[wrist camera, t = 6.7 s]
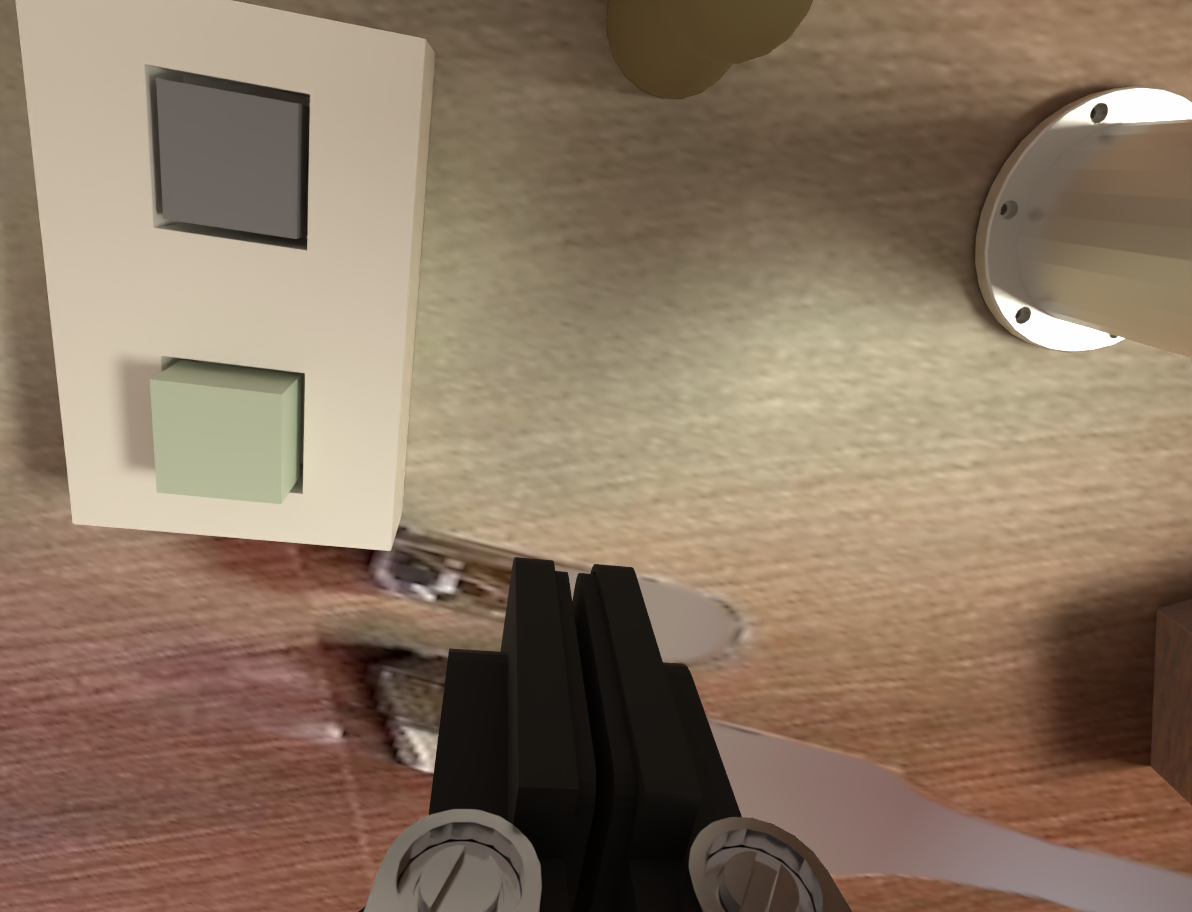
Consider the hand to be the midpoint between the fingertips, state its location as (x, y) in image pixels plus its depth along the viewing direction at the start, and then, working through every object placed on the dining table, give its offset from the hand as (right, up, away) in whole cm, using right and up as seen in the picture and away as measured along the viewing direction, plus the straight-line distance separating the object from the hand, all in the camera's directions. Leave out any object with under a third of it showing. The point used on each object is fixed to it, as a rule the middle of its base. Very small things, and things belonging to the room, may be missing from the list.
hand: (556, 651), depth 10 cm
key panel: (-15, +11, +23) cm, 30 cm away
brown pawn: (+4, +22, +21) cm, 31 cm away
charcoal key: (-14, +15, +20) cm, 29 cm away
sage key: (-15, +4, +23) cm, 28 cm away
